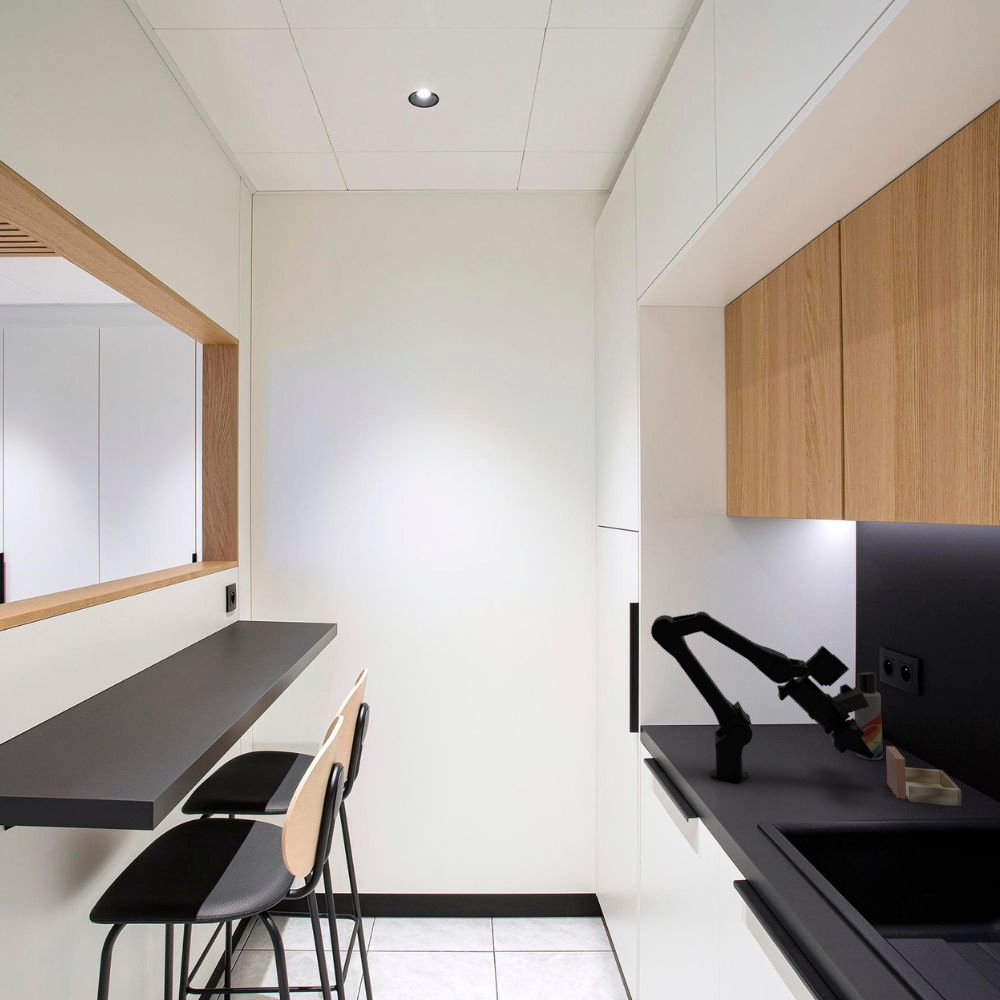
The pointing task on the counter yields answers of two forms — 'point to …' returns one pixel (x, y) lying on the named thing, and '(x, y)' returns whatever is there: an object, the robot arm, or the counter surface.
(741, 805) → the counter surface
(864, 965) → the counter surface
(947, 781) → the tray
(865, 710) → the lotion bottle
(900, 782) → the drawer panel
